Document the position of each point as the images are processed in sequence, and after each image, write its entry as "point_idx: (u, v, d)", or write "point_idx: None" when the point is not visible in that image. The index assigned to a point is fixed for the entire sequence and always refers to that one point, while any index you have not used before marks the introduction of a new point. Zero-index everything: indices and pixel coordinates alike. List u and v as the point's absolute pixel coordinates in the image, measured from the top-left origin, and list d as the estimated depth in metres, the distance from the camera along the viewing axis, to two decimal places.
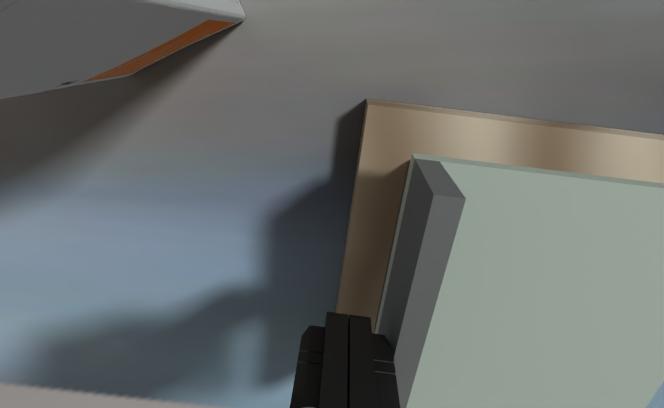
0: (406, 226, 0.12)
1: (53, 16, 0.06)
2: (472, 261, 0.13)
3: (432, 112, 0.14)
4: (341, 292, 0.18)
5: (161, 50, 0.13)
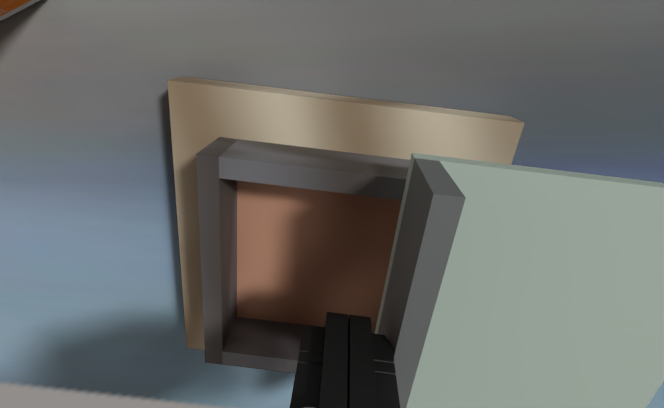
0: (406, 226, 0.12)
1: None
2: (472, 261, 0.13)
3: (232, 88, 0.14)
4: (182, 273, 0.18)
5: None
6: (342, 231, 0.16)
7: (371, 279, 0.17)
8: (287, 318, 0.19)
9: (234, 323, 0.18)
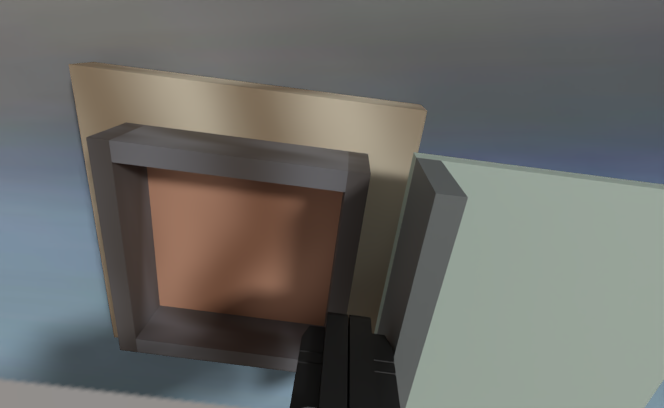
0: (407, 225, 0.12)
1: None
2: (472, 261, 0.13)
3: (134, 73, 0.14)
4: (102, 261, 0.18)
5: None
6: (255, 219, 0.16)
7: (289, 268, 0.17)
8: (210, 307, 0.19)
9: (155, 311, 0.18)
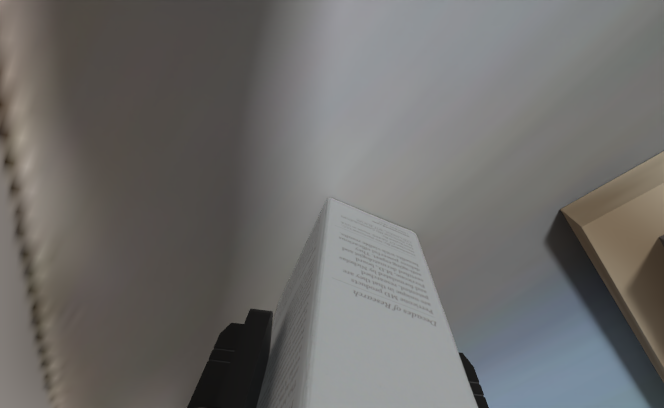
0: None
1: None
2: None
3: (653, 187, 0.13)
4: None
5: None
6: None
7: None
8: None
9: None
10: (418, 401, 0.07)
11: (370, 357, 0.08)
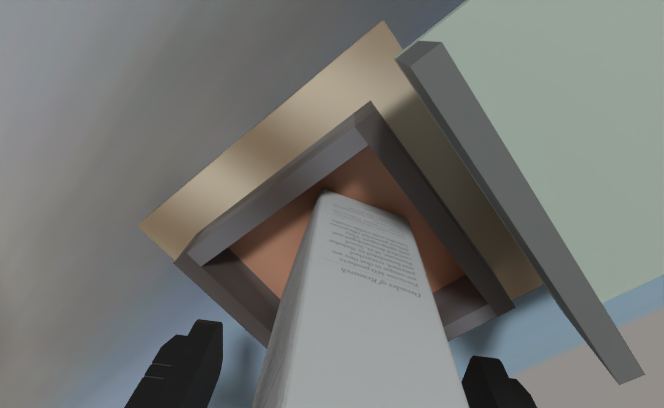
0: (437, 119, 0.11)
1: None
2: (540, 97, 0.11)
3: (173, 195, 0.17)
4: None
5: None
6: None
7: None
8: None
9: None
10: (396, 357, 0.08)
11: (354, 322, 0.09)
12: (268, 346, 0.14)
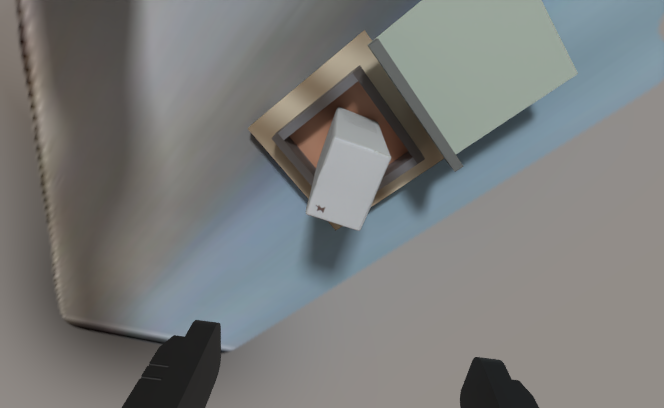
0: (382, 67, 0.29)
1: None
2: (422, 59, 0.30)
3: (266, 112, 0.35)
4: (307, 196, 0.38)
5: None
6: None
7: None
8: None
9: None
10: (366, 136, 0.27)
11: (353, 129, 0.27)
12: (315, 171, 0.33)
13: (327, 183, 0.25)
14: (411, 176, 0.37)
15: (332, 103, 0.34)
